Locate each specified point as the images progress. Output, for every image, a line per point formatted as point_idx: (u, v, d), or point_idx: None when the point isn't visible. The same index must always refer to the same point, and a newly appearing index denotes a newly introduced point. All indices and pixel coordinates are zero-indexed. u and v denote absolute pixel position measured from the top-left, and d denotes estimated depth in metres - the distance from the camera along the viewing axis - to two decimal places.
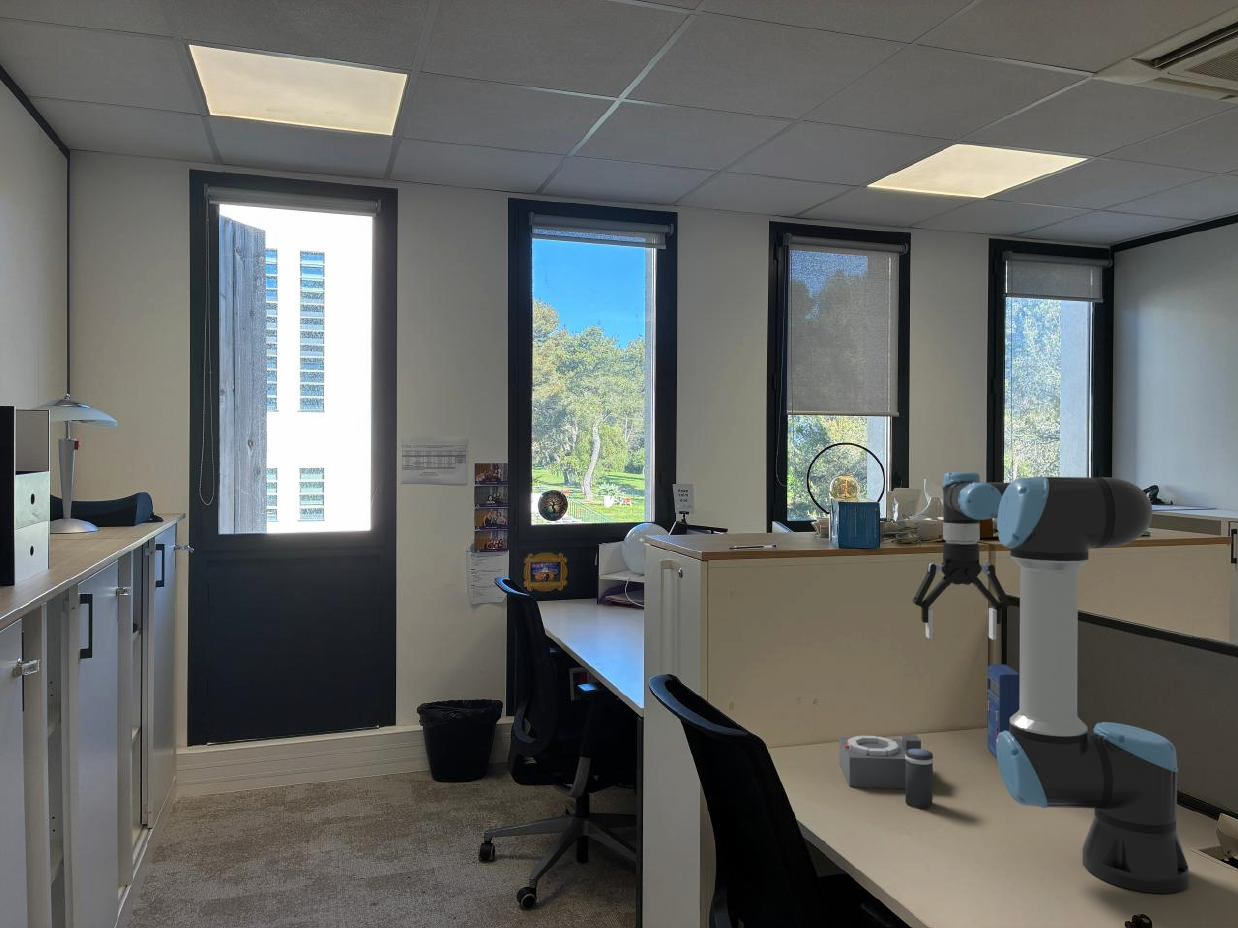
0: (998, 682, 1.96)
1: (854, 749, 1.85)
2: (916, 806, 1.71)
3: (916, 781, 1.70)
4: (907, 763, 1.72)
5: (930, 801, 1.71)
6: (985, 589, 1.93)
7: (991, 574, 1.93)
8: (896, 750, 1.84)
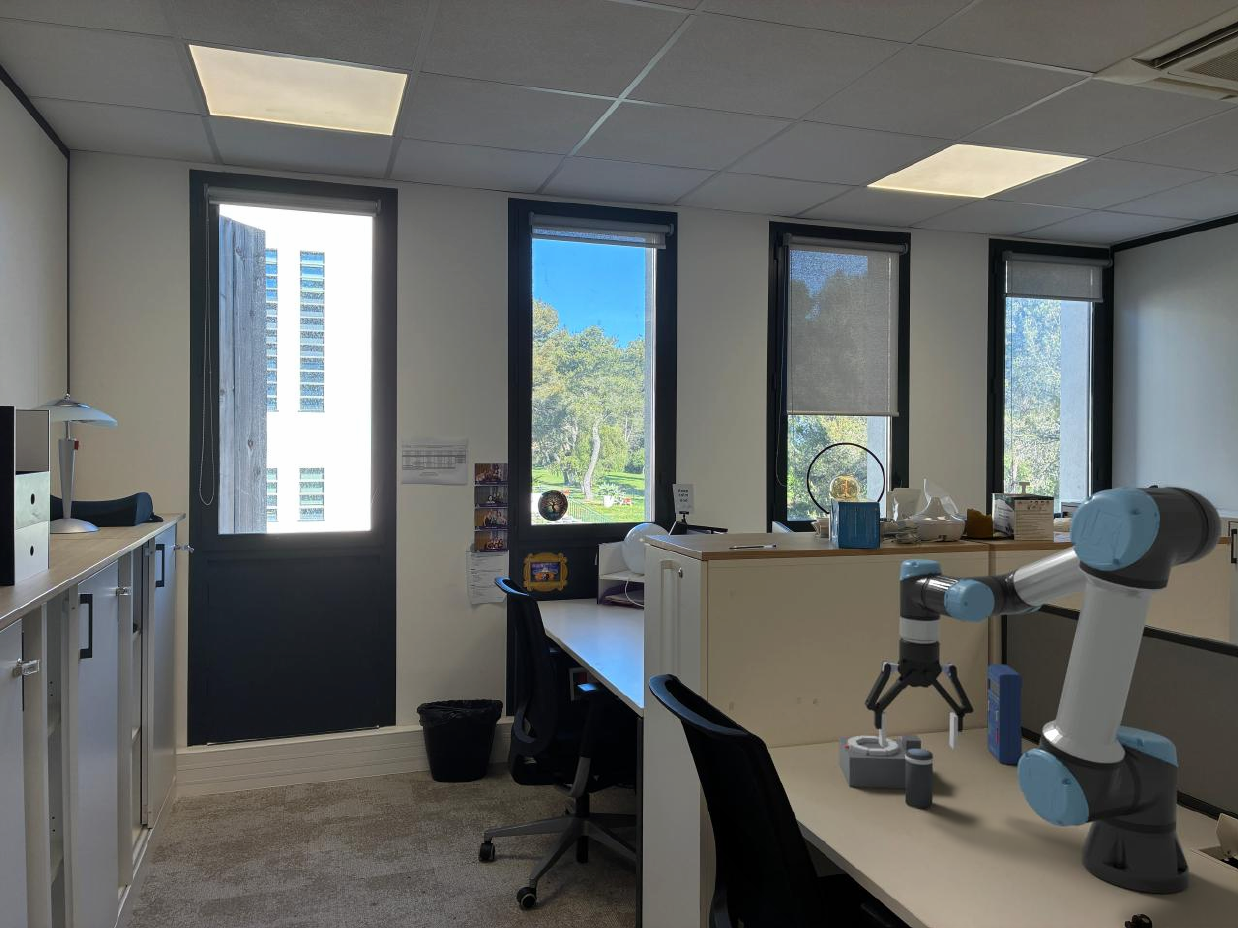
0: (998, 682, 1.96)
1: (854, 749, 1.85)
2: (916, 806, 1.71)
3: (916, 781, 1.70)
4: (907, 763, 1.72)
5: (930, 801, 1.71)
6: (946, 693, 1.71)
7: (952, 676, 1.71)
8: (896, 750, 1.84)
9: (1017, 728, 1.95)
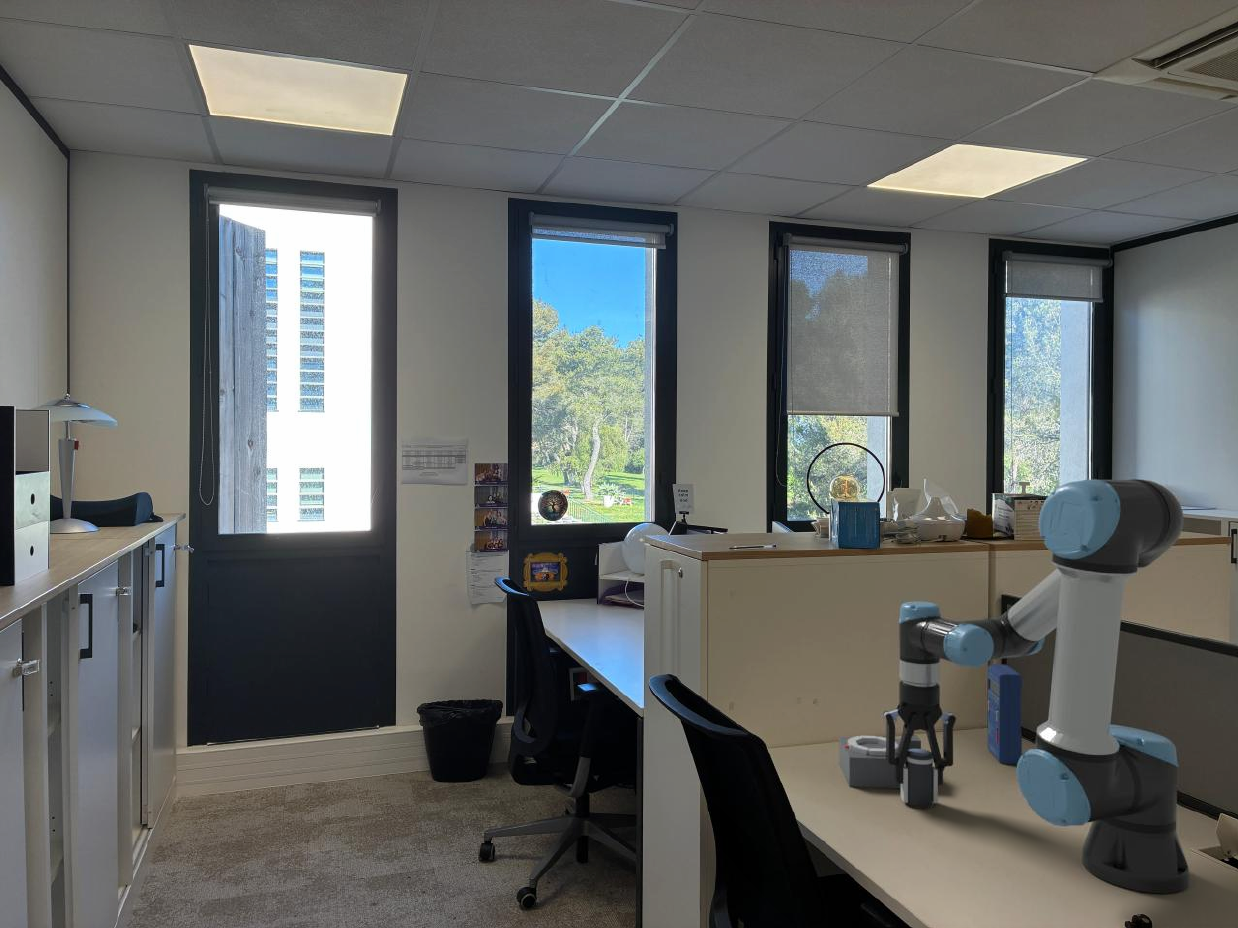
0: (998, 682, 1.96)
1: (854, 749, 1.85)
2: (916, 806, 1.71)
3: (916, 781, 1.70)
4: (907, 763, 1.72)
5: (930, 801, 1.71)
6: (935, 742, 1.71)
7: (948, 725, 1.71)
8: (896, 750, 1.84)
9: (1017, 728, 1.95)
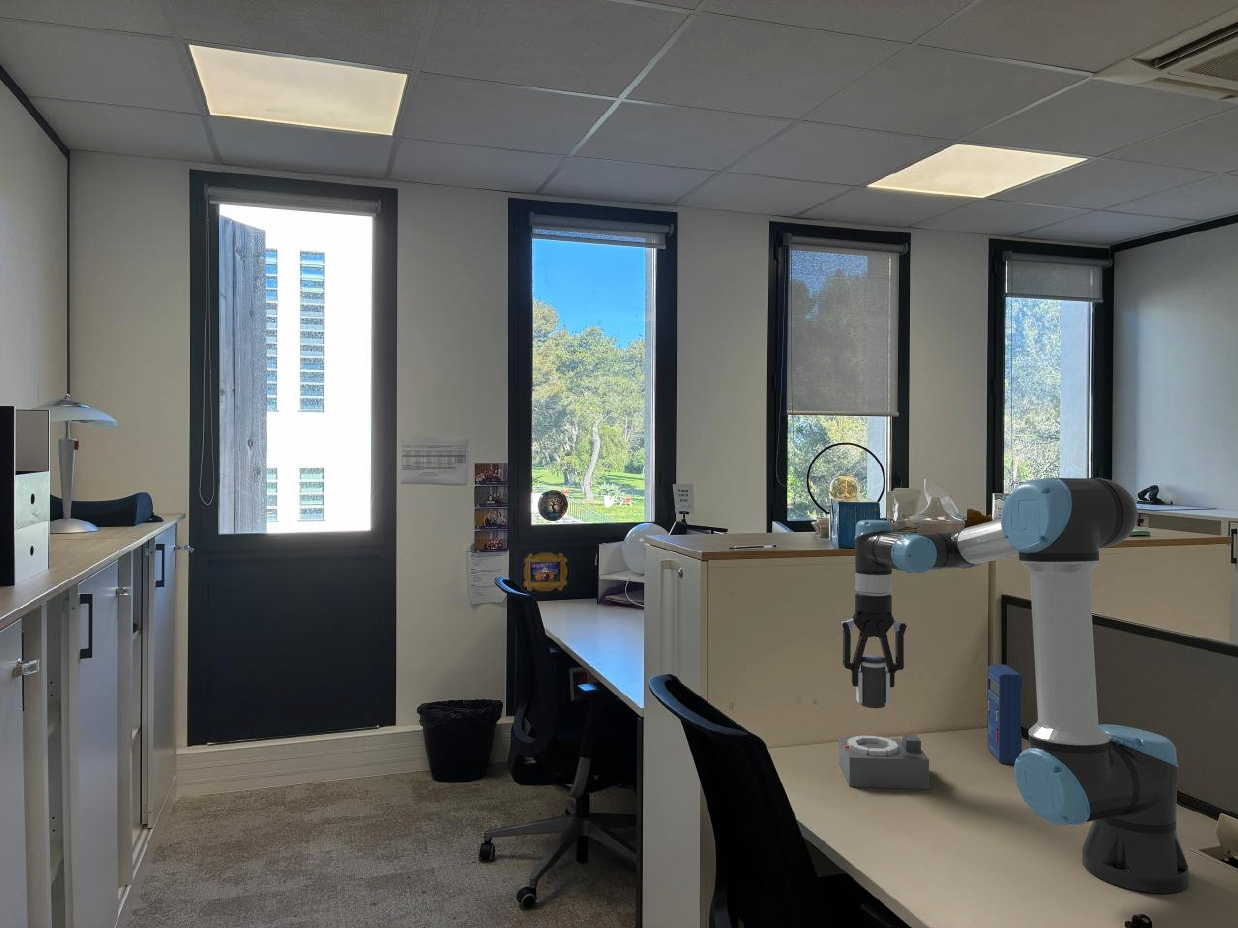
0: (998, 682, 1.96)
1: (854, 749, 1.85)
2: (869, 706, 1.85)
3: (870, 683, 1.85)
4: (862, 667, 1.87)
5: (882, 701, 1.86)
6: (888, 648, 1.86)
7: (899, 632, 1.86)
8: (896, 750, 1.84)
9: (1017, 728, 1.95)
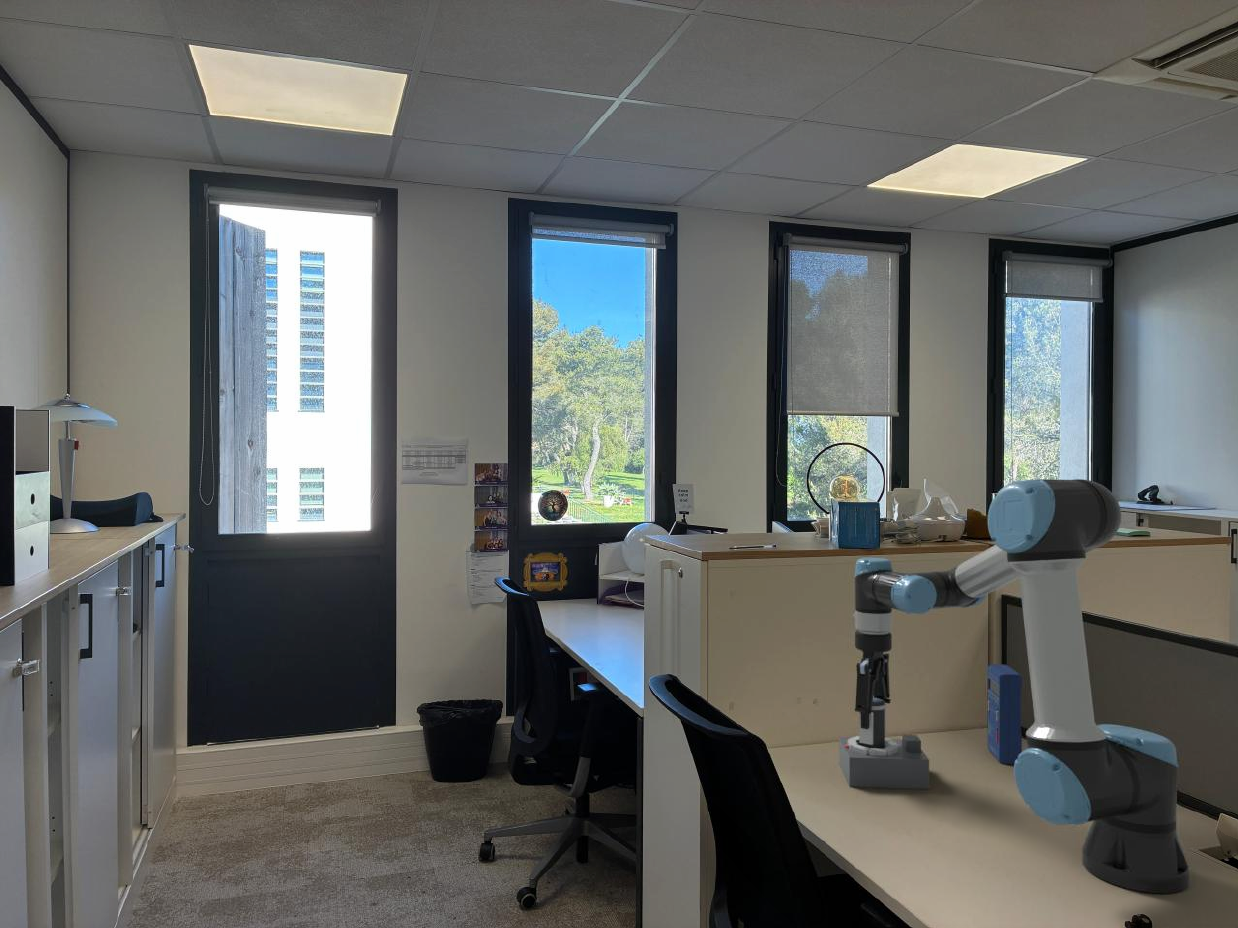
0: (998, 682, 1.96)
1: (854, 749, 1.85)
2: None
3: (881, 725, 1.86)
4: (871, 712, 1.85)
5: None
6: (884, 681, 1.90)
7: (887, 663, 1.91)
8: (896, 750, 1.84)
9: (1017, 728, 1.95)
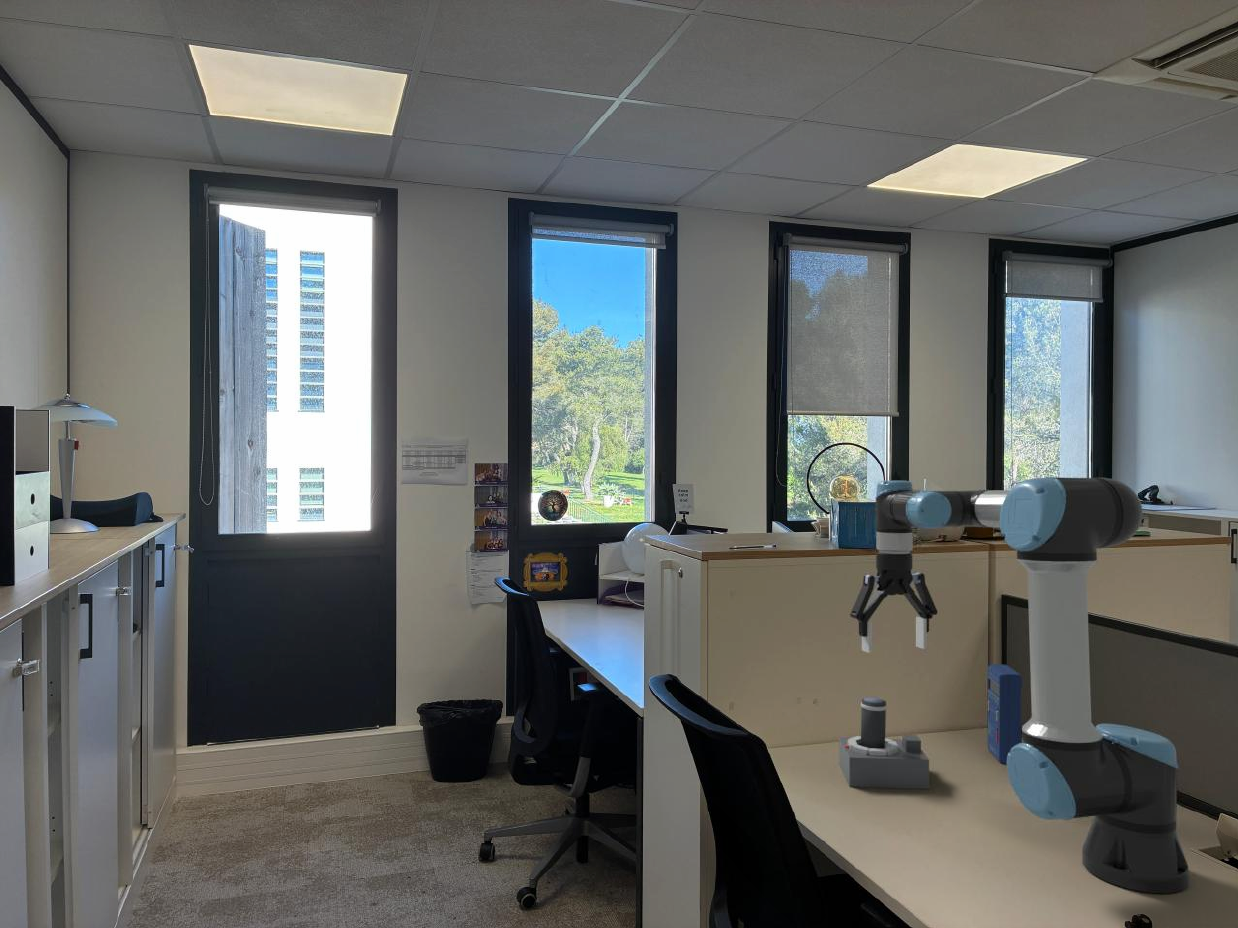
0: (998, 682, 1.96)
1: (854, 749, 1.85)
2: None
3: (882, 726, 1.85)
4: (872, 713, 1.85)
5: None
6: (917, 598, 1.91)
7: (921, 583, 1.91)
8: (896, 750, 1.84)
9: (1017, 728, 1.95)
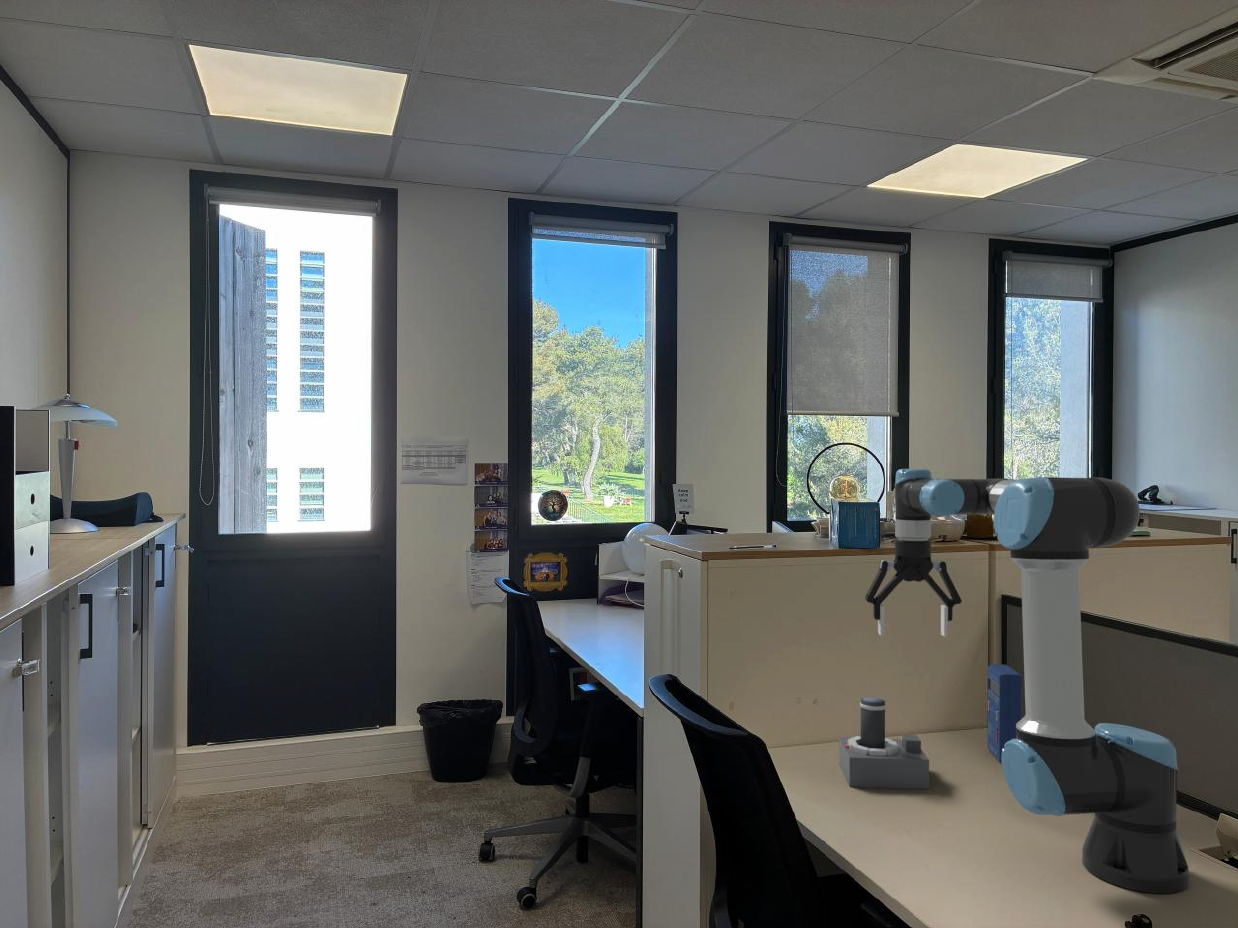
0: (998, 682, 1.96)
1: (854, 749, 1.85)
2: None
3: (881, 725, 1.85)
4: (871, 712, 1.85)
5: None
6: (937, 586, 1.92)
7: (942, 571, 1.92)
8: (896, 750, 1.84)
9: None
